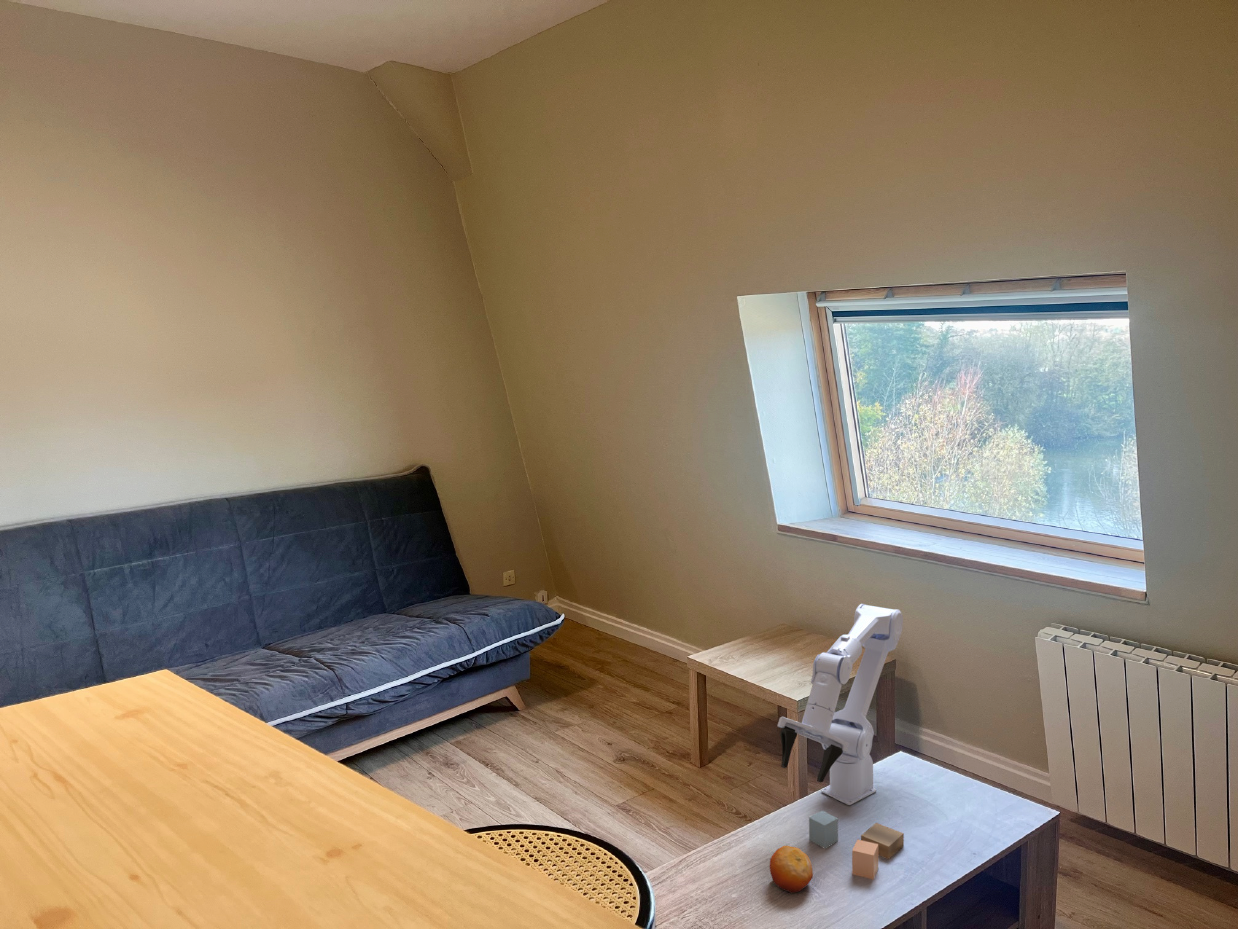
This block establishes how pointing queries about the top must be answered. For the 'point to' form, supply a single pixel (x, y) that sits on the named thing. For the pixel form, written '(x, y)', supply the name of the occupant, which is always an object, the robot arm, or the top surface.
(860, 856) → the terracotta block
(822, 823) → the grayish teal block
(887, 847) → the walnut block
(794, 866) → the fruit
